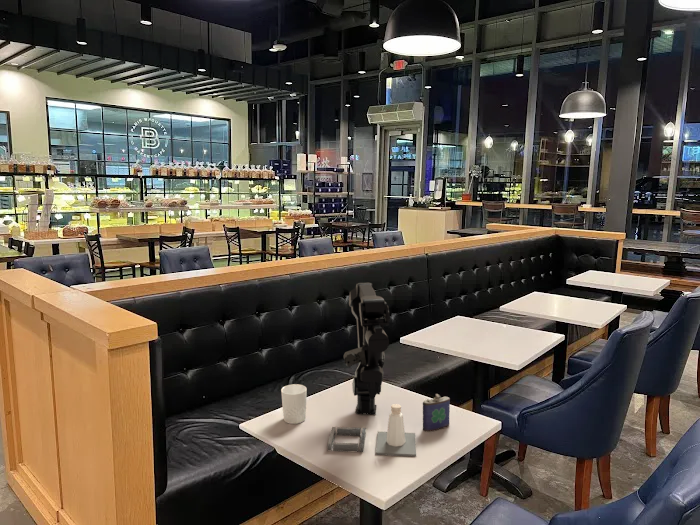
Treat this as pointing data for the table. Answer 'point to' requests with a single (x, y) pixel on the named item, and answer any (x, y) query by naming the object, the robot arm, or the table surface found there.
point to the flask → (436, 413)
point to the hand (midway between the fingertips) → (373, 392)
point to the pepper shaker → (395, 427)
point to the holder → (346, 445)
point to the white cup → (294, 403)
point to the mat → (403, 450)
